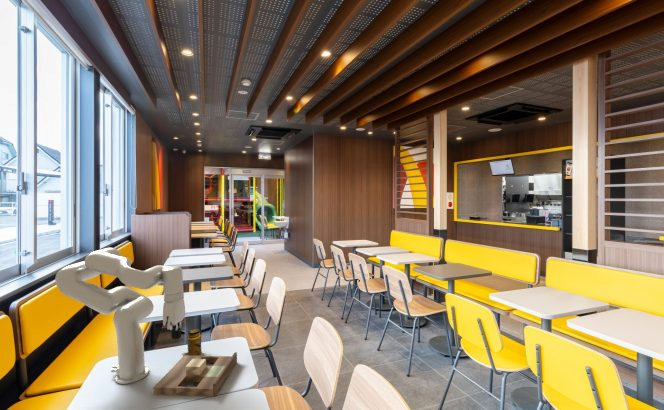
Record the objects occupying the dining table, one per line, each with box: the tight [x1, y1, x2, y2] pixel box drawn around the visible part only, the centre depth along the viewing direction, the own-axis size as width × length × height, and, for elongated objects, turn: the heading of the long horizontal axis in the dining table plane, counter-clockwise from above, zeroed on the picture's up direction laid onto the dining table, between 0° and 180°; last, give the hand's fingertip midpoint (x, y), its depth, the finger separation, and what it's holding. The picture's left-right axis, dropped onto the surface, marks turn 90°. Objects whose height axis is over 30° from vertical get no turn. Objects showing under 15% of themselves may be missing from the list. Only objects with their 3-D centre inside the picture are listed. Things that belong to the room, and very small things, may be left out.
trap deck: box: [153, 351, 238, 397], centre depth 141 cm, size 25×24×5 cm
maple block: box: [186, 359, 206, 375], centre depth 141 cm, size 6×6×4 cm
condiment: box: [181, 328, 204, 357], centre depth 159 cm, size 7×8×12 cm
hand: (176, 338), depth 140 cm, fingers closed
